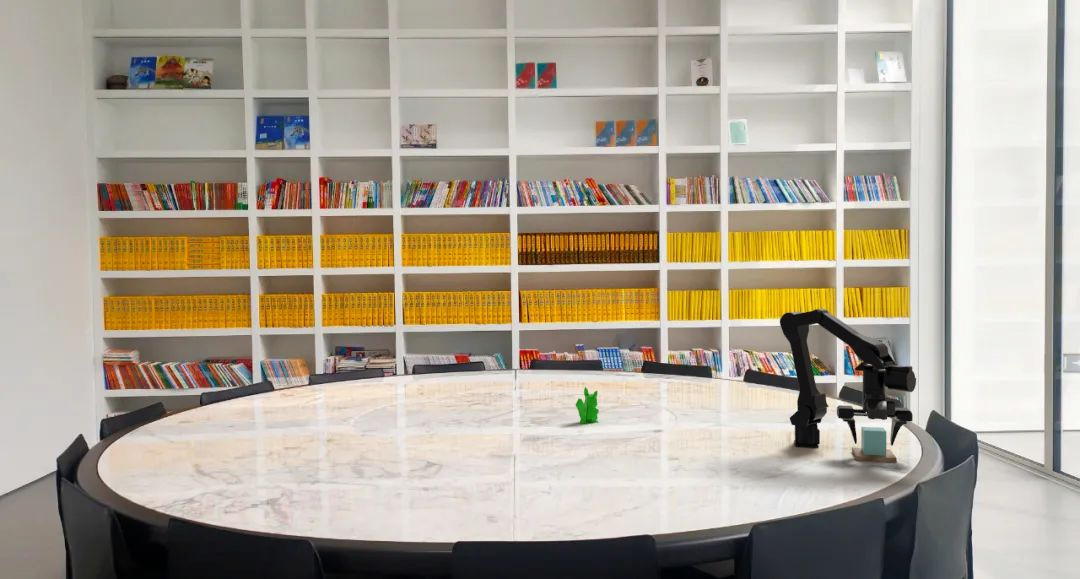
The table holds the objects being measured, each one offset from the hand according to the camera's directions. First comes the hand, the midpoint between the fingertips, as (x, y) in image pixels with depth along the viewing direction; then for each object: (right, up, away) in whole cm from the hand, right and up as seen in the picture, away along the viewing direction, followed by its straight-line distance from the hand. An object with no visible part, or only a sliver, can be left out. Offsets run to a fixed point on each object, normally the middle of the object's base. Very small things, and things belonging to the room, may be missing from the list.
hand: (873, 444), depth 213 cm
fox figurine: (-76, -3, +51) cm, 91 cm away
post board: (0, -4, 0) cm, 4 cm away
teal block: (0, -2, 0) cm, 2 cm away
